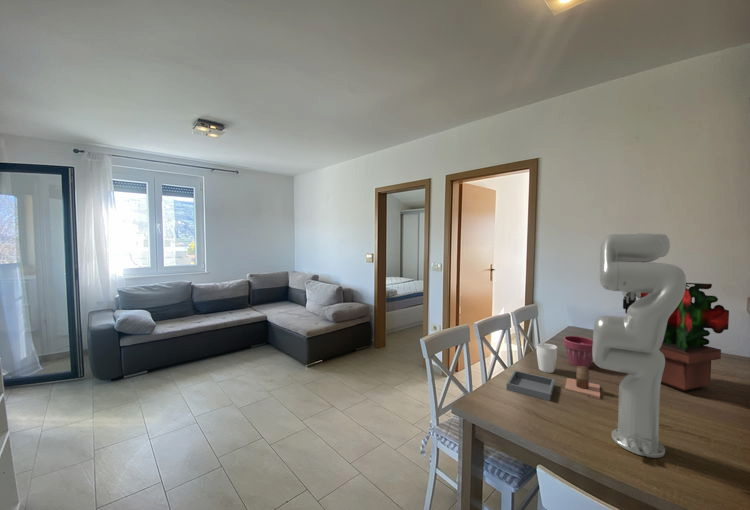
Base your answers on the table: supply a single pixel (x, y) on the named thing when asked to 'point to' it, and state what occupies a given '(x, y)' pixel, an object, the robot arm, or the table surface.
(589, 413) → the table surface
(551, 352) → the cup
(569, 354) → the plant pot
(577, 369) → the walnut peg
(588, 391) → the terracotta board
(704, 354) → the potted plant
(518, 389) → the bin
